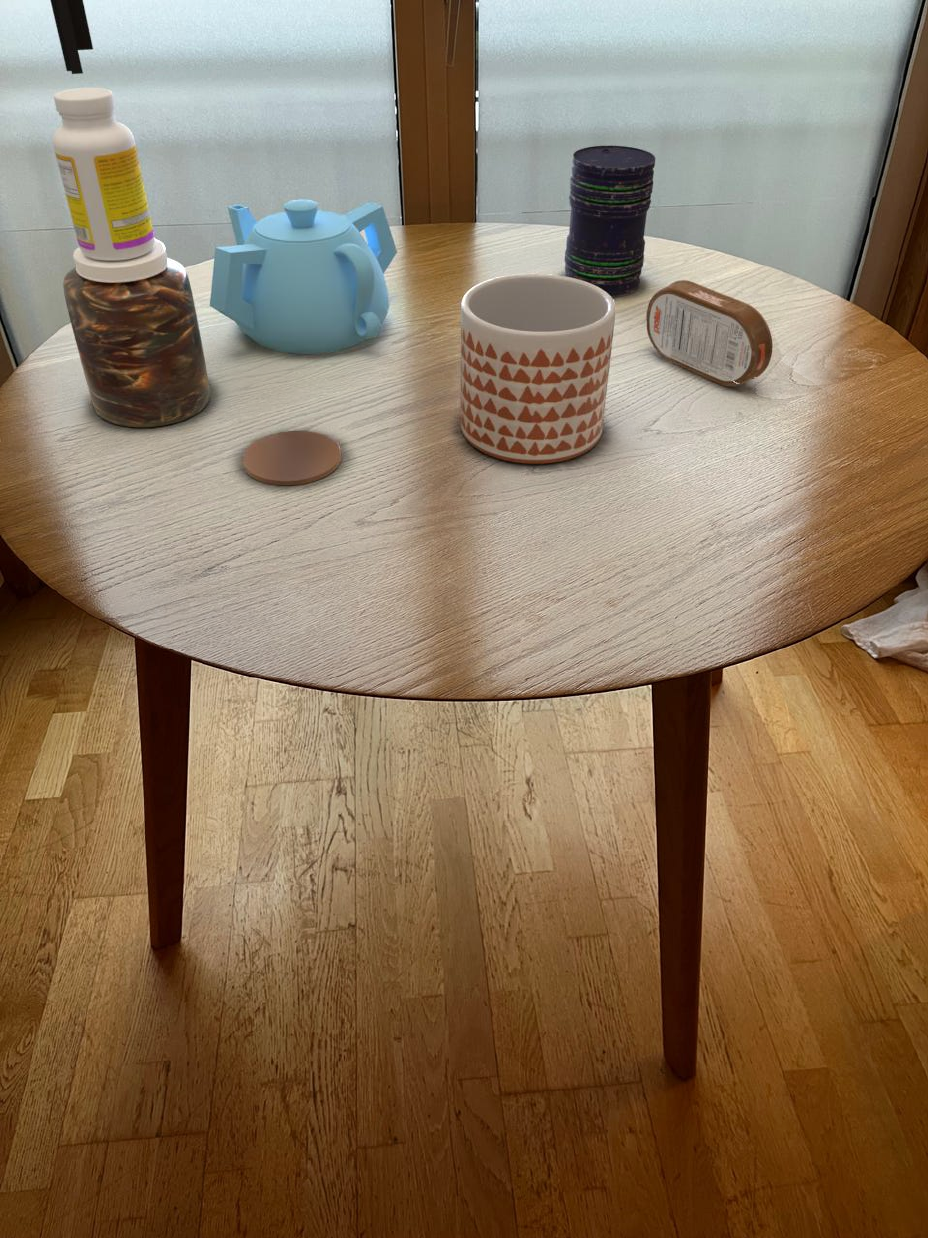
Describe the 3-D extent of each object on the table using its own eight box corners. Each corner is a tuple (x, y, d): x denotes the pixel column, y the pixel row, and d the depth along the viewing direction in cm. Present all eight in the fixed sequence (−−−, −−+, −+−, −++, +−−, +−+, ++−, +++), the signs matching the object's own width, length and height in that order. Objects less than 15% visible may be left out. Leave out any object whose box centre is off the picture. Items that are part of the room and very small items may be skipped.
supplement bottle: (166, 239, 90) (137, 85, 81) (141, 264, 85) (107, 103, 76) (97, 236, 90) (61, 83, 82) (68, 261, 85) (26, 100, 77)
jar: (229, 379, 101) (205, 233, 91) (184, 433, 92) (152, 278, 82) (124, 369, 102) (89, 225, 93) (70, 422, 94) (26, 268, 84)
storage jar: (652, 294, 119) (669, 165, 109) (577, 300, 117) (588, 170, 108) (624, 265, 126) (638, 142, 117) (553, 271, 125) (561, 147, 115)
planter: (499, 385, 100) (503, 262, 92) (622, 416, 95) (638, 289, 87) (434, 443, 91) (432, 313, 83) (567, 480, 86) (579, 346, 78)
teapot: (399, 296, 118) (394, 177, 109) (387, 366, 103) (379, 235, 94) (244, 295, 118) (226, 176, 109) (210, 365, 104) (185, 234, 95)
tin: (765, 391, 99) (783, 312, 94) (746, 400, 98) (763, 321, 92) (655, 343, 108) (666, 268, 103) (636, 350, 107) (646, 275, 101)
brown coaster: (252, 493, 84) (251, 488, 84) (235, 444, 91) (234, 439, 90) (352, 475, 86) (351, 470, 86) (328, 428, 93) (328, 424, 93)
